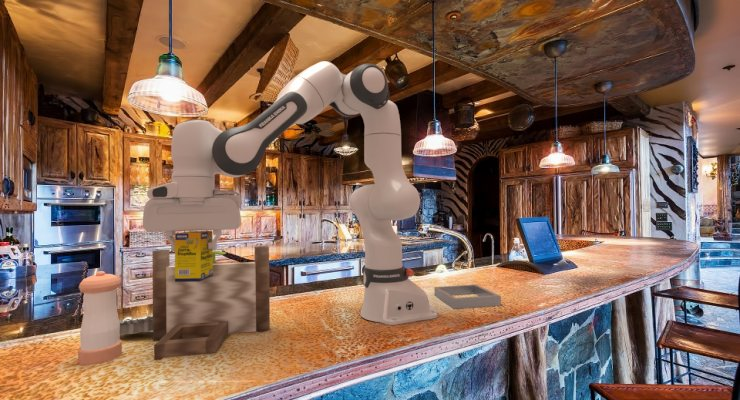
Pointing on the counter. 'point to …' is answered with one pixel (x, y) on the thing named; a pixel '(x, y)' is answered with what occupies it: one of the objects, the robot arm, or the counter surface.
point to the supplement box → (193, 256)
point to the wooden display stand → (208, 305)
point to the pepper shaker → (99, 320)
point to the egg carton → (136, 325)
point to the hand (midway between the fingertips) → (194, 250)
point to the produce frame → (481, 300)
